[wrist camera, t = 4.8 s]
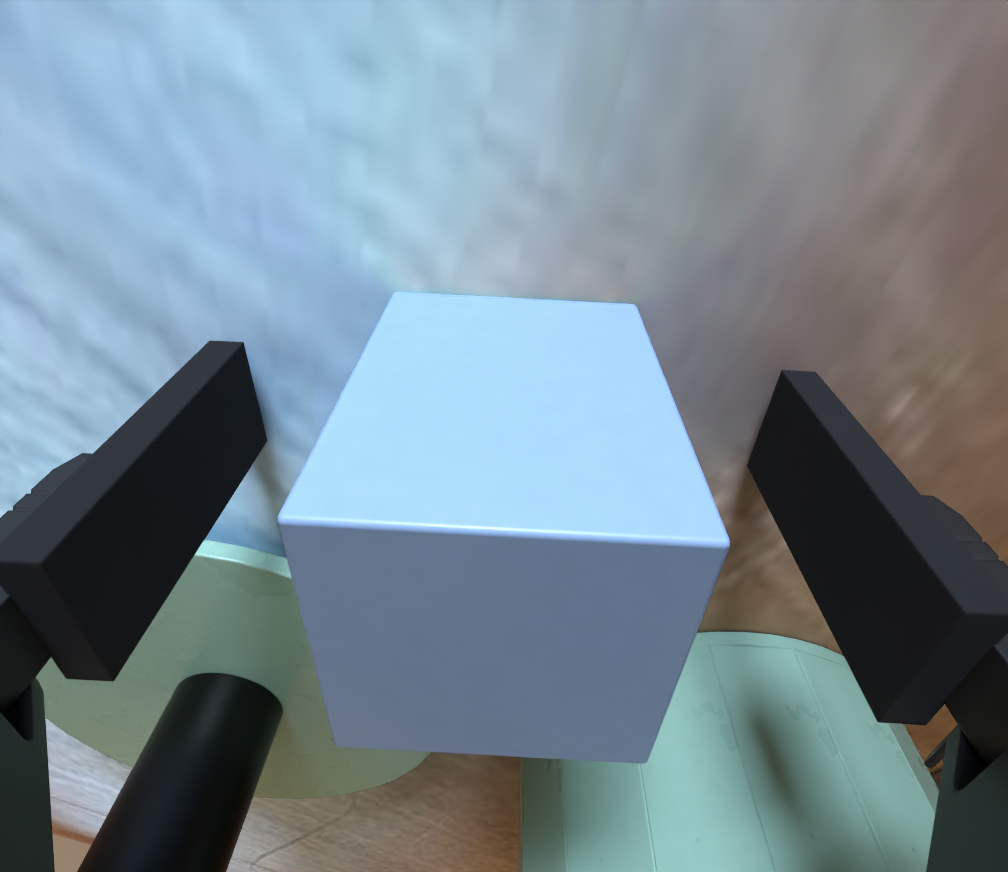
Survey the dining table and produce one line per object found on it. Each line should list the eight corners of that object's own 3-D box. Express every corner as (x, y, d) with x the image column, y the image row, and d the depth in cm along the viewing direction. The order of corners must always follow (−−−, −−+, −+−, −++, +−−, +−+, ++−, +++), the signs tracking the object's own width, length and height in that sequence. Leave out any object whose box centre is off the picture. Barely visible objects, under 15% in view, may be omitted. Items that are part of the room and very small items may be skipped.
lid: (-71, 506, 16) (-580, 909, 9) (445, 534, 16) (375, 963, 9) (112, 759, 25) (-67, 1072, 17) (451, 778, 25) (418, 1100, 17)
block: (392, 290, 12) (272, 518, 6) (637, 303, 12) (734, 543, 6) (406, 478, 15) (333, 749, 9) (602, 489, 15) (648, 766, 9)
